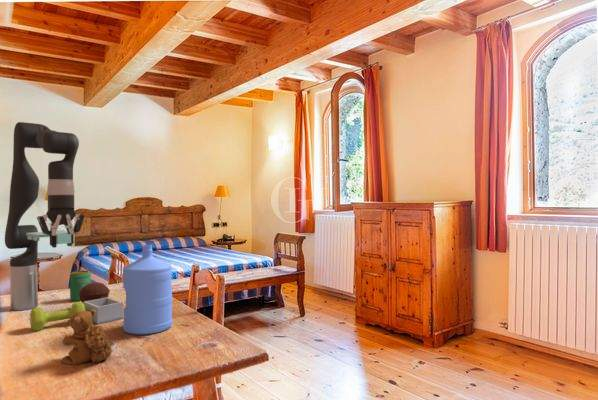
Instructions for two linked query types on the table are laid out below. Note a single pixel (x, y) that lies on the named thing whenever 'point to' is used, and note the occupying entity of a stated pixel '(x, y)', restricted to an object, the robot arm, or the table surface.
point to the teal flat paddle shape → (61, 236)
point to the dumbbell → (52, 315)
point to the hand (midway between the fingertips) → (61, 246)
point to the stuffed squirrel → (86, 340)
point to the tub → (105, 310)
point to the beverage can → (78, 283)
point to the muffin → (93, 292)
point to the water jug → (147, 295)
